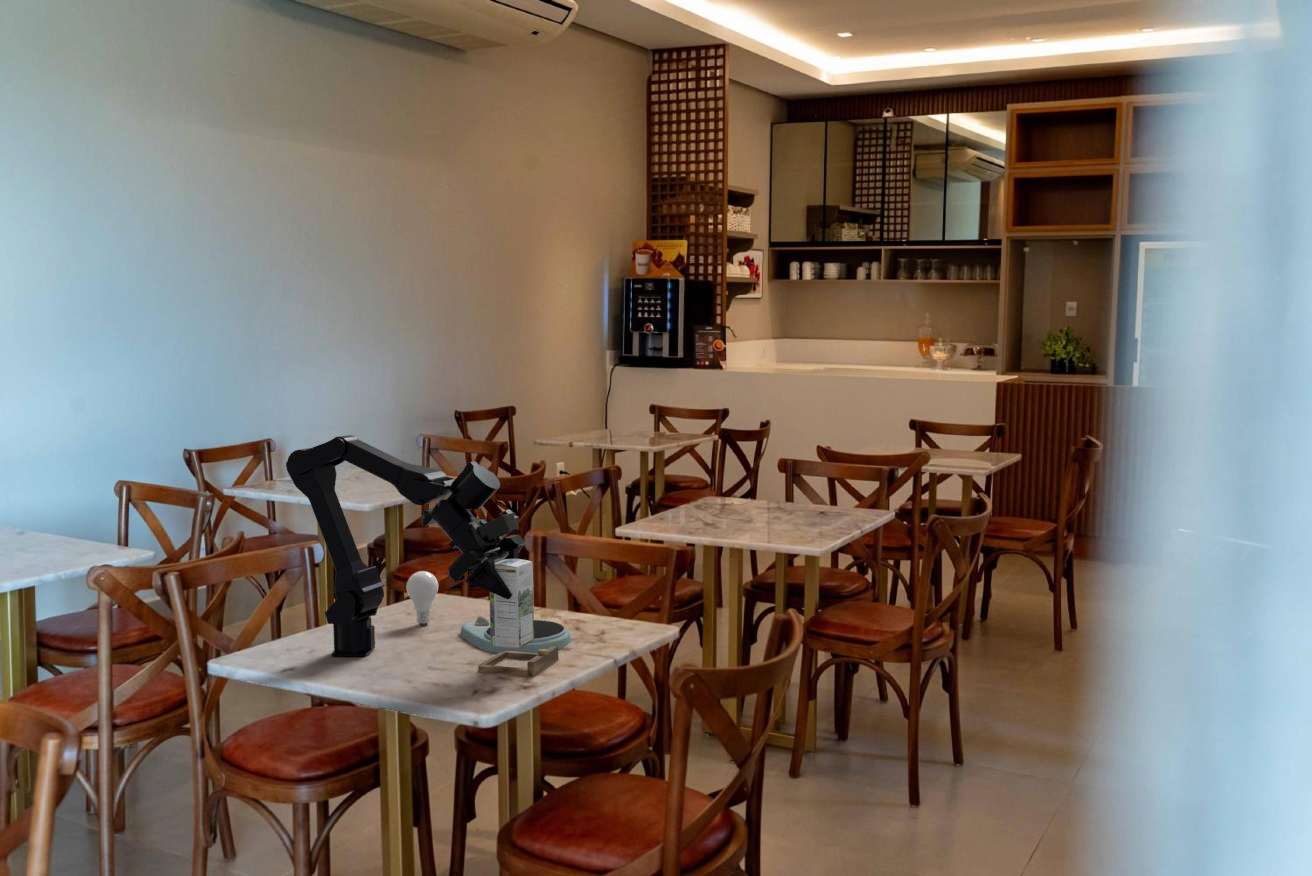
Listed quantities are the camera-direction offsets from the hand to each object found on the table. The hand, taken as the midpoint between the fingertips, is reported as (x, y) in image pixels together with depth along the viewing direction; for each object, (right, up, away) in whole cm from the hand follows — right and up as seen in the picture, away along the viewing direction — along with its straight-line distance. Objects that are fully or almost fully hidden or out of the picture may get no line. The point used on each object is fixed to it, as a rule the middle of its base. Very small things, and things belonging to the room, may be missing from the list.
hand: (518, 594), depth 196 cm
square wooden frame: (0, -13, +3) cm, 13 cm away
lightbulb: (-23, -11, +34) cm, 42 cm away
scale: (-4, -12, +21) cm, 25 cm away
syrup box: (-1, -9, +1) cm, 9 cm away
